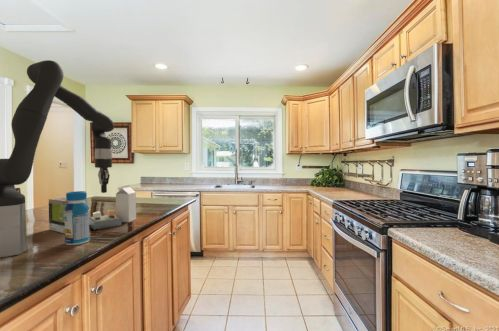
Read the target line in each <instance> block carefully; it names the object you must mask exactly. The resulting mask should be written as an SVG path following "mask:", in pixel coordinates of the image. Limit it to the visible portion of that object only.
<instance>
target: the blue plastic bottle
mask: <svg viewBox="0 0 499 331" xmlns="http://www.w3.org/2000/svg"><path fill="white" fill-rule="evenodd" d="M87 196H88V195H87V191H85V190H84V191H83V190H82V191H79V190H78V191H69V192H66V194H65V197H66V200H67V201H68V204H67V205H66V207H65V209H64V212H65V215H64V220H65V233H64V244H65V245H66V246H78V245H83V244H86V243H88V242H89V241H90V226H89V218H90V217H91V216H90V212H89V209H90V207H89V204H88V203H87V201H86V202H85V200H87Z"/></svg>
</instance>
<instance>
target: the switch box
mask: <svg viewBox="0 0 499 331" xmlns="http://www.w3.org/2000/svg"><path fill="white" fill-rule="evenodd" d="M120 226H122V222H121V218H119V217H118V216H116V214H115V215H108V214H105V215H102V216H100V217H96V218H94V217H93V216H89V228H91V229H92V230H93V231H96V229H97V230H102V229H110V228H114V227H120Z"/></svg>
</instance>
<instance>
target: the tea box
mask: <svg viewBox="0 0 499 331" xmlns="http://www.w3.org/2000/svg"><path fill="white" fill-rule="evenodd" d="M86 200H87V199H86ZM86 200H85V202H86V203H87V201H86ZM67 204H68V201H67V200H66V196H65V197H57V198H55V197H54V198H48V229H49V230H51V231H54V232H57V233H61V234H65V220H64V215H65V212H64V209H65V207H66V205H67Z"/></svg>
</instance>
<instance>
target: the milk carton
mask: <svg viewBox="0 0 499 331" xmlns="http://www.w3.org/2000/svg"><path fill="white" fill-rule="evenodd" d="M115 211H116V214H115V215H116V216H118V217H119V218H121V223H131V222H134V221H135V220H137V197H136V191H135V190H134V189H133V188H132V187H131V186H130V184H128V185H121V188H120V189H119V191H117V192H116V193H115Z"/></svg>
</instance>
